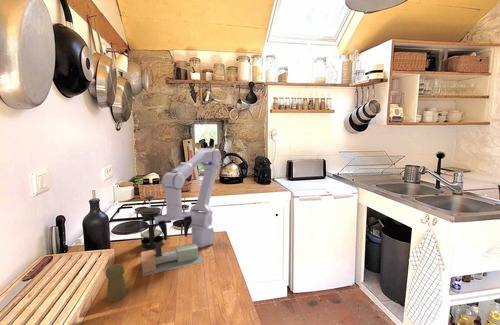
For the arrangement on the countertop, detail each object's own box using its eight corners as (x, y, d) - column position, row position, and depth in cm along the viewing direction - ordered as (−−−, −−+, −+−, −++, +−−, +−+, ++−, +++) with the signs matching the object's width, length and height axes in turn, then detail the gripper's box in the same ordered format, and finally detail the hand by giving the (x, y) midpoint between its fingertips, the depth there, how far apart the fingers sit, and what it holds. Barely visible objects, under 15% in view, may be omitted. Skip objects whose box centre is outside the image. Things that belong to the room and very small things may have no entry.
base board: (196, 250, 116) (195, 248, 116) (203, 264, 105) (203, 261, 105) (140, 262, 107) (140, 260, 106) (142, 278, 96) (142, 276, 96)
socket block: (153, 259, 107) (153, 249, 106) (156, 269, 100) (155, 259, 99) (141, 262, 105) (140, 252, 104) (143, 272, 98) (142, 261, 97)
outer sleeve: (195, 253, 112) (195, 243, 111) (198, 258, 108) (198, 247, 107) (176, 257, 108) (175, 247, 108) (178, 262, 105) (177, 252, 104)
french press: (138, 253, 114) (134, 201, 110) (140, 243, 123) (136, 194, 119) (167, 249, 117) (164, 198, 114) (167, 240, 126) (164, 192, 122)
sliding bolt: (182, 255, 109) (182, 238, 108) (184, 258, 106) (183, 241, 105) (147, 262, 103) (145, 244, 102) (147, 266, 101) (146, 248, 99)
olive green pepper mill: (122, 289, 90) (119, 259, 88) (131, 297, 86) (128, 265, 84) (103, 299, 85) (100, 267, 83) (112, 307, 81) (108, 274, 79)
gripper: (155, 209, 96) (157, 245, 98) (195, 204, 102) (196, 238, 104) (153, 204, 103) (155, 237, 105) (191, 199, 109) (192, 231, 111)
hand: (175, 237), depth 105 cm, fingers open, 7 cm apart
